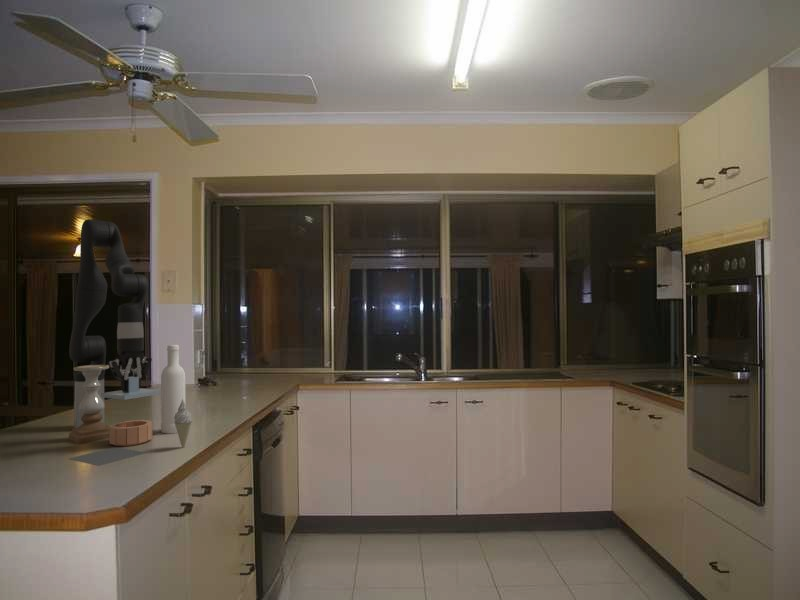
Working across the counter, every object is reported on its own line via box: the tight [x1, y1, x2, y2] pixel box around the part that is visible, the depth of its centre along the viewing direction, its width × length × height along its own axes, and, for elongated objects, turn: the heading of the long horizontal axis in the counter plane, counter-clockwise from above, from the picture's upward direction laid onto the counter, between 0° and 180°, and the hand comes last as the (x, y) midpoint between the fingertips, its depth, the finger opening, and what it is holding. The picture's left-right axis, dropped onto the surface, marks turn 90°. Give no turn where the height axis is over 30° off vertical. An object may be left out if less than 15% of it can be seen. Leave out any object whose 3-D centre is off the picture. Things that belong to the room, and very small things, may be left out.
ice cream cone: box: [174, 399, 193, 448], centre depth 157 cm, size 5×5×15 cm
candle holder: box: [68, 364, 110, 445], centre depth 172 cm, size 11×11×24 cm
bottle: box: [160, 344, 187, 435], centre depth 181 cm, size 8×8×30 cm
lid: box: [101, 375, 161, 401], centre depth 165 cm, size 12×12×6 cm
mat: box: [67, 446, 146, 467], centre depth 149 cm, size 15×14×1 cm
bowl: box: [108, 419, 153, 447], centre depth 165 cm, size 12×12×6 cm
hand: (130, 390), depth 165 cm, fingers closed on lid, 3 cm apart
